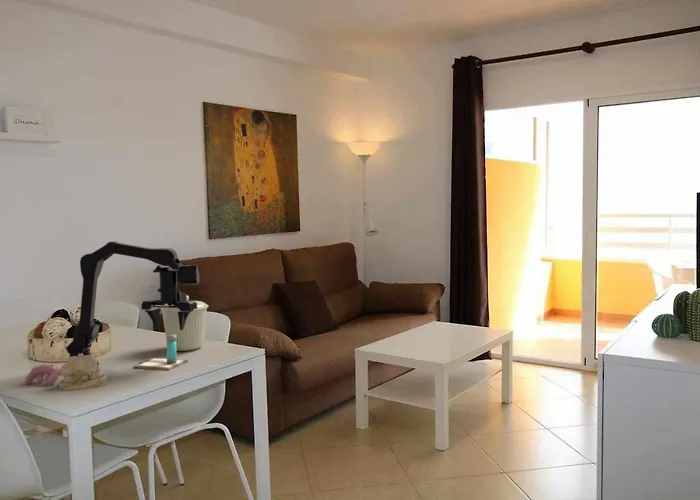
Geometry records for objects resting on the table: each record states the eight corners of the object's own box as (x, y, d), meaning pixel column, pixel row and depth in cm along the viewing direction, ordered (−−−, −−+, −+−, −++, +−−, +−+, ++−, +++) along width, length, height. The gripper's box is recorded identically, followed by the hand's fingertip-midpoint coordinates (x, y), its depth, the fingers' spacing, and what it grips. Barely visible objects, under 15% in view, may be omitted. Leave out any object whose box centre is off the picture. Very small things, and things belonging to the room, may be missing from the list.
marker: (173, 364, 210) (173, 336, 209) (164, 363, 211) (164, 336, 210) (178, 361, 213) (178, 334, 213) (170, 361, 214) (169, 334, 214)
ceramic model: (53, 392, 183) (51, 359, 182) (62, 382, 194) (60, 350, 193) (103, 388, 186) (101, 355, 185) (109, 378, 197) (108, 347, 196)
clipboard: (168, 370, 205) (168, 366, 205) (132, 368, 209) (132, 364, 209) (187, 361, 217) (187, 357, 217) (153, 359, 220) (153, 355, 220)
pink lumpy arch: (58, 388, 192) (64, 366, 194) (48, 385, 188) (55, 363, 190) (32, 386, 194) (38, 364, 197) (22, 383, 190) (28, 361, 193)
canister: (198, 341, 251) (196, 290, 249) (217, 348, 236) (215, 294, 235) (154, 347, 240) (152, 294, 238) (172, 356, 225) (170, 299, 224)
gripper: (204, 282, 216) (205, 326, 217) (158, 281, 221) (159, 324, 222) (187, 286, 205) (189, 332, 206) (139, 285, 210) (141, 330, 211)
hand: (170, 329), depth 211 cm, fingers open, 9 cm apart
